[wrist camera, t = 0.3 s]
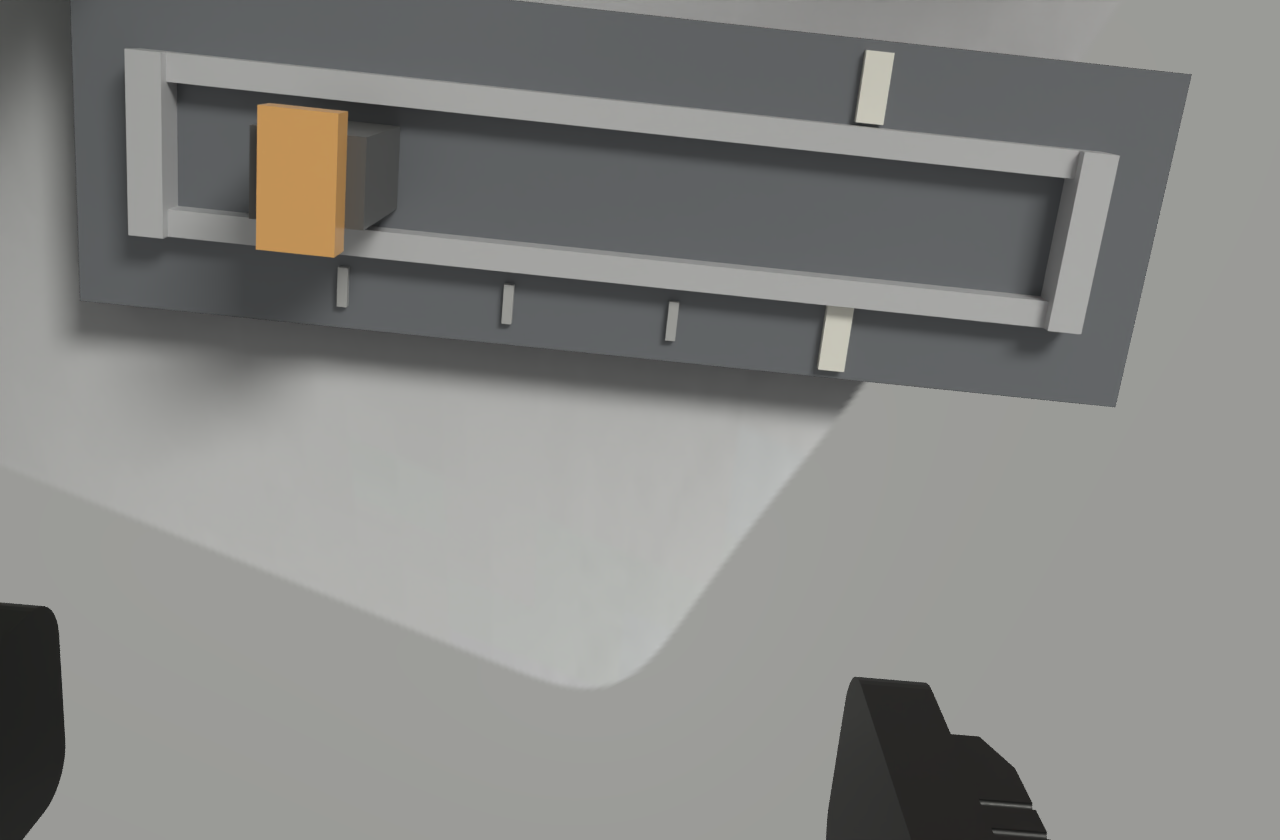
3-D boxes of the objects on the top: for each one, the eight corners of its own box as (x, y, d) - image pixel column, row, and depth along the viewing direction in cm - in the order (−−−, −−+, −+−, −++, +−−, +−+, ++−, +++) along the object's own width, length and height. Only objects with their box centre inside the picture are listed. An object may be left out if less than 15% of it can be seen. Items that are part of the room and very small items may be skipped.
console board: (99, -44, 36) (48, -52, 33) (1163, 72, 37) (1210, 75, 34) (108, 288, 39) (61, 308, 36) (1092, 389, 40) (1129, 418, 37)
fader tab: (297, 94, 35) (236, 102, 30) (401, 105, 35) (358, 115, 30) (295, 218, 36) (236, 247, 31) (395, 228, 36) (353, 259, 31)
